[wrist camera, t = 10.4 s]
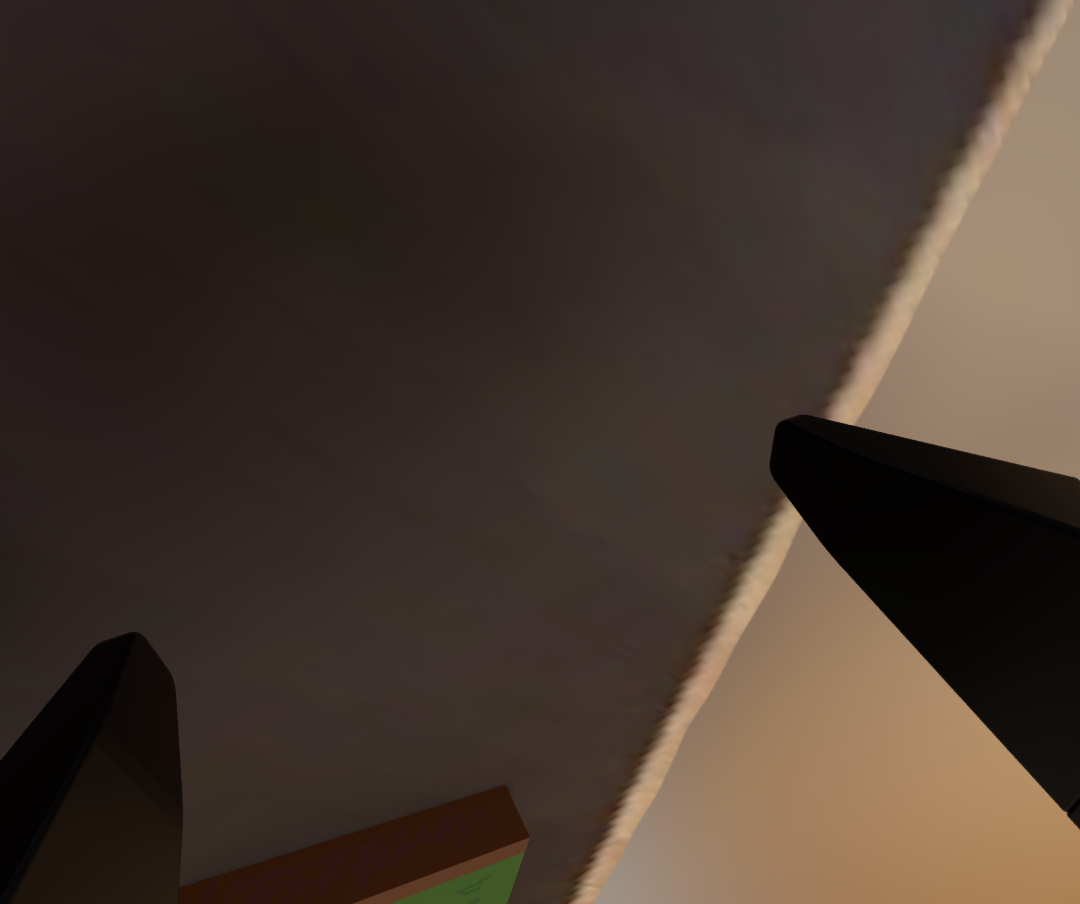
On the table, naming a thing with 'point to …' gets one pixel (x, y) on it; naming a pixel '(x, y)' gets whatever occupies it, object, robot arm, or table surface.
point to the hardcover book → (392, 862)
